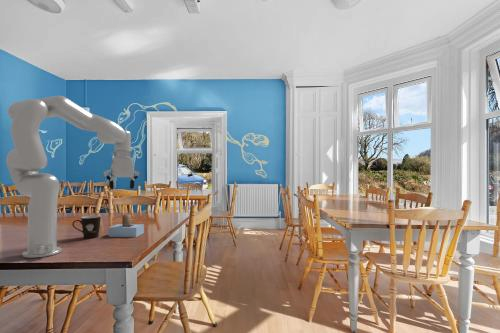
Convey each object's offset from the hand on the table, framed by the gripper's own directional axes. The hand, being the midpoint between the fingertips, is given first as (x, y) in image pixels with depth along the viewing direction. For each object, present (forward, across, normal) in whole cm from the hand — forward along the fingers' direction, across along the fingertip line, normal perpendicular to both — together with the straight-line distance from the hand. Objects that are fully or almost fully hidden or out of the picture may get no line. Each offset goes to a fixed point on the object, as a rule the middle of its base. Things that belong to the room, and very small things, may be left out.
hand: (121, 188), depth 153 cm
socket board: (+23, +2, -1) cm, 23 cm away
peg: (+23, +2, -1) cm, 23 cm away
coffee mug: (+24, -14, +6) cm, 28 cm away
